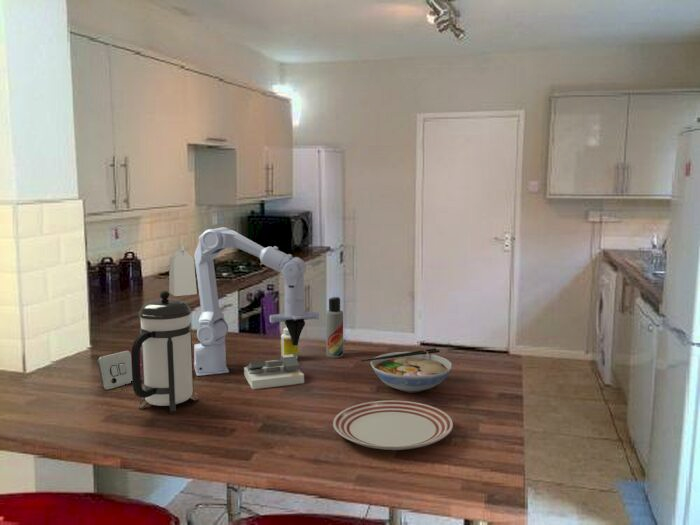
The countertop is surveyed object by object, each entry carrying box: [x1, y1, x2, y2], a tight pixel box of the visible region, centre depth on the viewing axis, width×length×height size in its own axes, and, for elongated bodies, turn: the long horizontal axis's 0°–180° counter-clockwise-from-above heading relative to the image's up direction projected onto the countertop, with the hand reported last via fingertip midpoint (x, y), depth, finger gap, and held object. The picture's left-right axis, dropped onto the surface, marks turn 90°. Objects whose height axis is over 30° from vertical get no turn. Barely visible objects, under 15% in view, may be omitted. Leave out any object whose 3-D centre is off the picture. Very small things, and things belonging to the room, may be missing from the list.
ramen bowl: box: [360, 347, 453, 394], centre depth 162 cm, size 25×23×8 cm
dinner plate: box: [332, 399, 454, 451], centre depth 133 cm, size 28×27×3 cm
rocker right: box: [280, 354, 301, 371], centre depth 171 cm, size 4×7×2 cm, turn 20°
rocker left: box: [246, 360, 265, 370], centre depth 168 cm, size 4×7×2 cm, turn 20°
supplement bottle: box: [280, 327, 299, 360], centre depth 189 cm, size 6×6×10 cm
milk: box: [168, 243, 198, 297], centre depth 304 cm, size 12×12×26 cm
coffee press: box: [131, 290, 199, 414], centre depth 147 cm, size 17×16×30 cm
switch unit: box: [243, 365, 305, 390], centre depth 170 cm, size 15×13×4 cm
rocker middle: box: [264, 359, 283, 367], centre depth 169 cm, size 4×7×2 cm, turn 20°
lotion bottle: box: [325, 296, 344, 359], centre depth 192 cm, size 6×6×20 cm
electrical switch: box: [96, 350, 132, 390], centre depth 165 cm, size 9×5×9 cm, turn 141°
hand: (294, 344), depth 171 cm, fingers closed
